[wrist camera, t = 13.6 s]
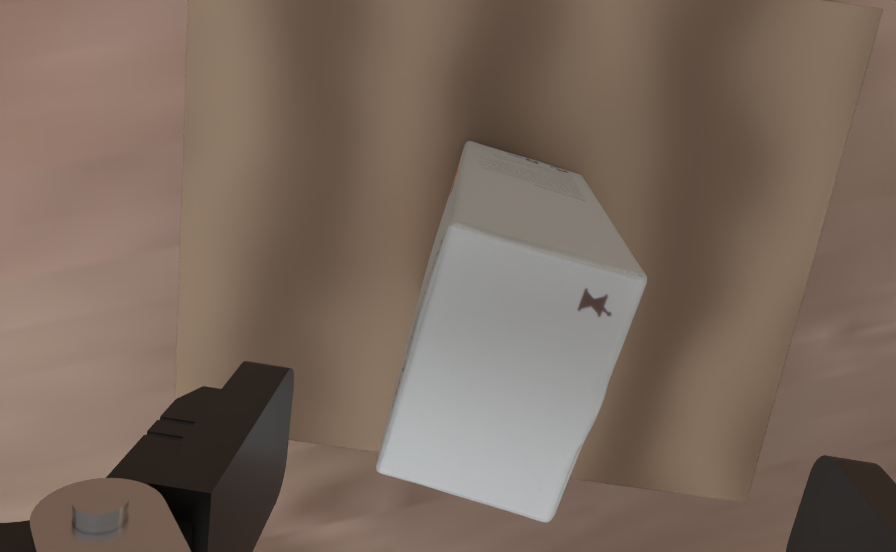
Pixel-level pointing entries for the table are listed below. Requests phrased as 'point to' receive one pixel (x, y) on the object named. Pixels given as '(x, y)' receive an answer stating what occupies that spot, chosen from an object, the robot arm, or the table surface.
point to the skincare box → (511, 336)
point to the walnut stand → (532, 136)
